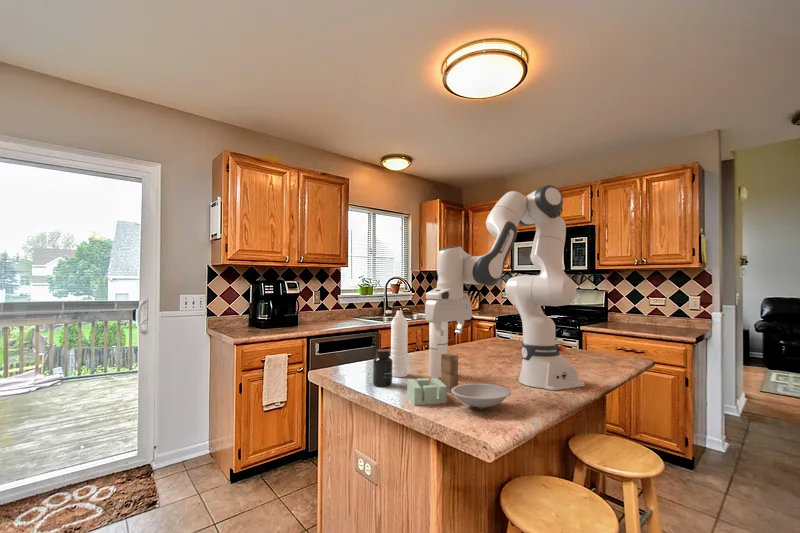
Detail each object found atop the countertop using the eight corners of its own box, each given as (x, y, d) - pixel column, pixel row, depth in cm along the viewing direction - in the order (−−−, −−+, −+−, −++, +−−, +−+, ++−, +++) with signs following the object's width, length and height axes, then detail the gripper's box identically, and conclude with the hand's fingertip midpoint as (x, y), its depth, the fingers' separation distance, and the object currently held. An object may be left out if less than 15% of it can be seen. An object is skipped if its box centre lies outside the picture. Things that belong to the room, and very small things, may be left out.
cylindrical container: (448, 378, 141) (448, 311, 142) (429, 378, 141) (430, 311, 142) (446, 373, 148) (446, 310, 149) (428, 373, 148) (428, 309, 149)
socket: (436, 393, 123) (437, 377, 123) (446, 403, 113) (446, 386, 113) (407, 394, 121) (407, 379, 121) (414, 405, 111) (414, 388, 111)
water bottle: (404, 372, 149) (405, 309, 149) (409, 377, 142) (409, 311, 143) (383, 374, 146) (383, 309, 147) (387, 378, 140) (387, 311, 141)
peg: (448, 388, 128) (449, 352, 129) (458, 390, 125) (458, 354, 126) (441, 390, 126) (441, 354, 126) (450, 393, 123) (450, 356, 123)
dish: (497, 398, 118) (497, 382, 118) (521, 414, 104) (521, 396, 104) (444, 401, 115) (444, 385, 115) (461, 419, 101) (461, 400, 101)
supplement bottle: (389, 387, 128) (390, 352, 129) (370, 386, 130) (370, 351, 130) (394, 382, 135) (394, 348, 135) (375, 381, 136) (376, 348, 137)
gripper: (462, 292, 136) (461, 331, 135) (422, 293, 122) (421, 336, 122) (476, 293, 131) (476, 333, 131) (436, 294, 118) (435, 338, 117)
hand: (449, 334), depth 126 cm, fingers open, 8 cm apart
